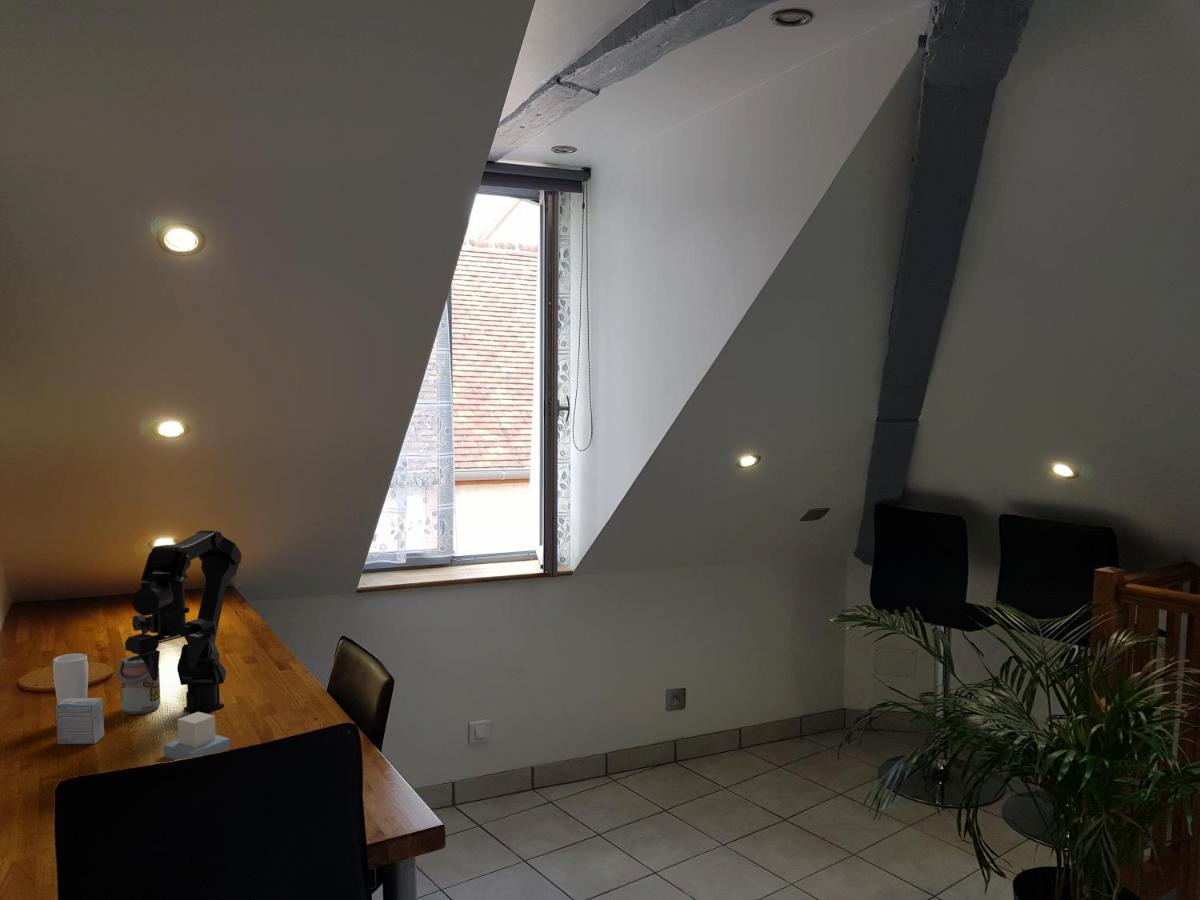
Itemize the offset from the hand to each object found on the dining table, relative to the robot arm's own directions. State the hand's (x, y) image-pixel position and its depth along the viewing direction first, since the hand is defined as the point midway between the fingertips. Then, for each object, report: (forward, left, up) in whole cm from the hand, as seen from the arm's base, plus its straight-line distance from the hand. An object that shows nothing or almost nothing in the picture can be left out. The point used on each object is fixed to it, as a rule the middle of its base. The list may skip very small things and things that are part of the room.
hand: (173, 674), depth 213 cm
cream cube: (+6, +15, -10) cm, 19 cm away
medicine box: (+14, -12, -13) cm, 22 cm away
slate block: (+6, +15, -13) cm, 21 cm away
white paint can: (-4, -18, -13) cm, 22 cm away
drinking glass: (+9, -23, -13) cm, 28 cm away
